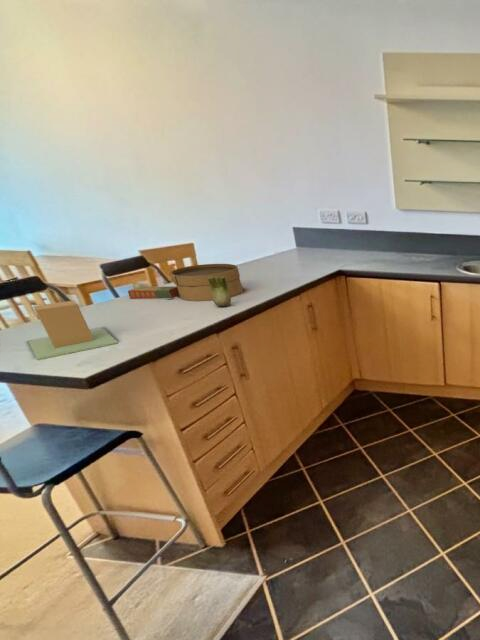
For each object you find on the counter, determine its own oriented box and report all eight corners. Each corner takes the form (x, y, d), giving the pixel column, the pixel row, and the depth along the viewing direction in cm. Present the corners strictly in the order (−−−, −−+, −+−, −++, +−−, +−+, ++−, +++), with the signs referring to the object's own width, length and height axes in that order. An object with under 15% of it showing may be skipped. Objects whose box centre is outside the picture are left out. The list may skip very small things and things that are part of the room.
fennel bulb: (234, 305, 173) (226, 276, 168) (226, 308, 169) (217, 278, 164) (221, 304, 174) (213, 275, 169) (212, 307, 170) (203, 278, 164)
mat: (29, 343, 131) (28, 341, 131) (104, 329, 144) (103, 328, 144) (37, 360, 120) (36, 358, 120) (118, 343, 133) (117, 341, 132)
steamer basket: (174, 304, 173) (165, 276, 168) (183, 290, 193) (174, 265, 187) (243, 297, 184) (236, 271, 179) (244, 285, 203) (238, 262, 198)
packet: (52, 343, 130) (33, 306, 125) (90, 336, 137) (73, 300, 131) (55, 348, 127) (35, 309, 122) (94, 340, 133) (77, 303, 128)
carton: (143, 295, 184) (139, 285, 182) (182, 295, 186) (179, 285, 184) (130, 300, 176) (126, 290, 175) (171, 299, 179) (168, 290, 177)
